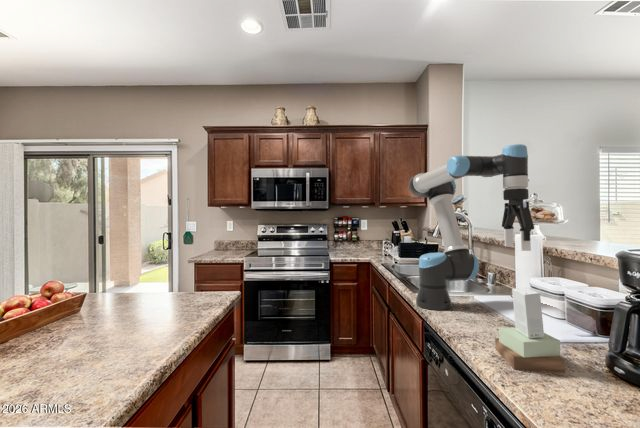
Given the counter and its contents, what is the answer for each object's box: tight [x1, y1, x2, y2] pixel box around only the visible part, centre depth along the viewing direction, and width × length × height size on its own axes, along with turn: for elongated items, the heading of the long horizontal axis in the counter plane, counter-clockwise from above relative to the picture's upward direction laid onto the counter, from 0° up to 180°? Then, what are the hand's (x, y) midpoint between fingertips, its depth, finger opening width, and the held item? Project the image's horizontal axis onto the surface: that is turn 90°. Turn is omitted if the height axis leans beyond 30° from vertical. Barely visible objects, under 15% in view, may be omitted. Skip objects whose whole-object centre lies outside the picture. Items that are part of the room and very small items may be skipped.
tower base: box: [494, 337, 566, 373], centre depth 85 cm, size 12×12×4 cm
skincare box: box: [511, 287, 545, 338], centre depth 84 cm, size 6×4×12 cm
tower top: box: [498, 326, 561, 357], centre depth 84 cm, size 10×10×4 cm
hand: (516, 248), depth 108 cm, fingers open, 13 cm apart
